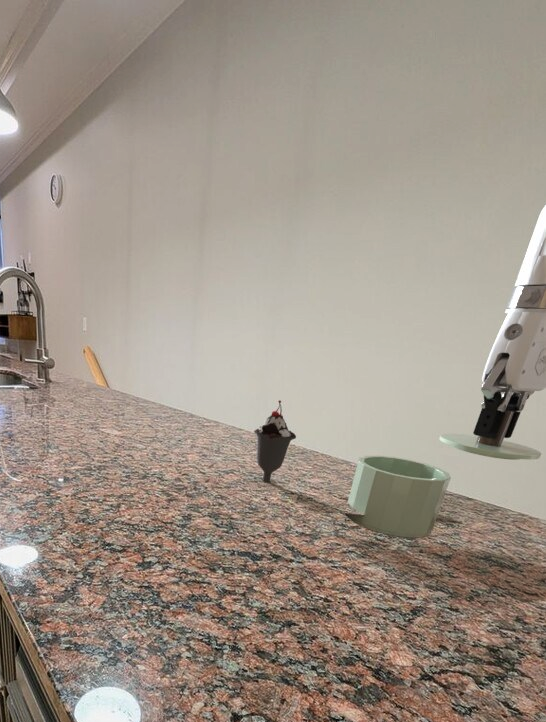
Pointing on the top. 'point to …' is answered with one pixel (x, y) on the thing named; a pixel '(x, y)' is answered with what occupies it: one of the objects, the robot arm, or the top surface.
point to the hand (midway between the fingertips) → (491, 435)
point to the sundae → (272, 443)
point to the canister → (397, 495)
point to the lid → (491, 444)
